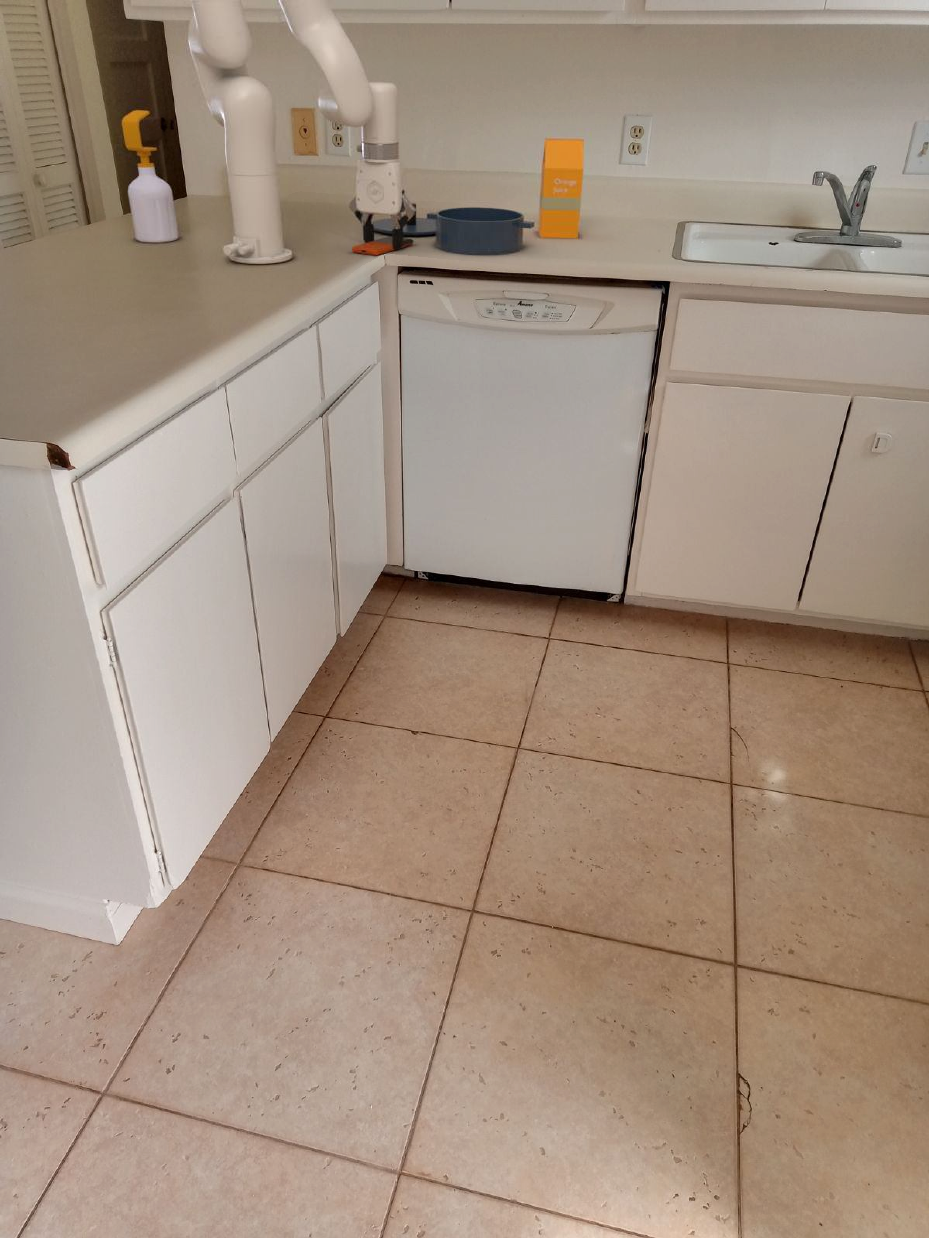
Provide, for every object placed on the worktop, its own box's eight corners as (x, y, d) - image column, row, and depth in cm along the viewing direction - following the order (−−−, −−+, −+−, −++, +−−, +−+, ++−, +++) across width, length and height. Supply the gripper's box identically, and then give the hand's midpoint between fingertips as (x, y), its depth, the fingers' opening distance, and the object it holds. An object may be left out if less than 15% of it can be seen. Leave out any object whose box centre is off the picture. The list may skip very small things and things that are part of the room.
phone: (350, 246, 186) (389, 235, 197) (350, 253, 187) (389, 241, 198) (376, 249, 184) (414, 238, 195) (376, 256, 185) (414, 245, 196)
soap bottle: (187, 238, 197) (169, 111, 184) (159, 245, 190) (138, 113, 177) (155, 234, 200) (135, 108, 187) (127, 240, 193) (104, 111, 180)
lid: (431, 240, 201) (431, 213, 198) (353, 232, 207) (352, 206, 204) (466, 227, 216) (466, 201, 213) (393, 219, 222) (392, 195, 219)
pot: (515, 259, 185) (517, 226, 181) (410, 248, 193) (410, 215, 189) (545, 244, 199) (547, 213, 196) (446, 234, 207) (446, 204, 204)
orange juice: (577, 238, 206) (586, 141, 195) (540, 237, 206) (546, 140, 195) (574, 232, 213) (582, 138, 202) (537, 231, 213) (543, 137, 202)
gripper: (334, 152, 181) (339, 246, 191) (410, 157, 176) (411, 253, 185) (352, 148, 187) (356, 240, 197) (426, 154, 181) (427, 247, 191)
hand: (383, 246), depth 191 cm, fingers closed on phone, 6 cm apart
